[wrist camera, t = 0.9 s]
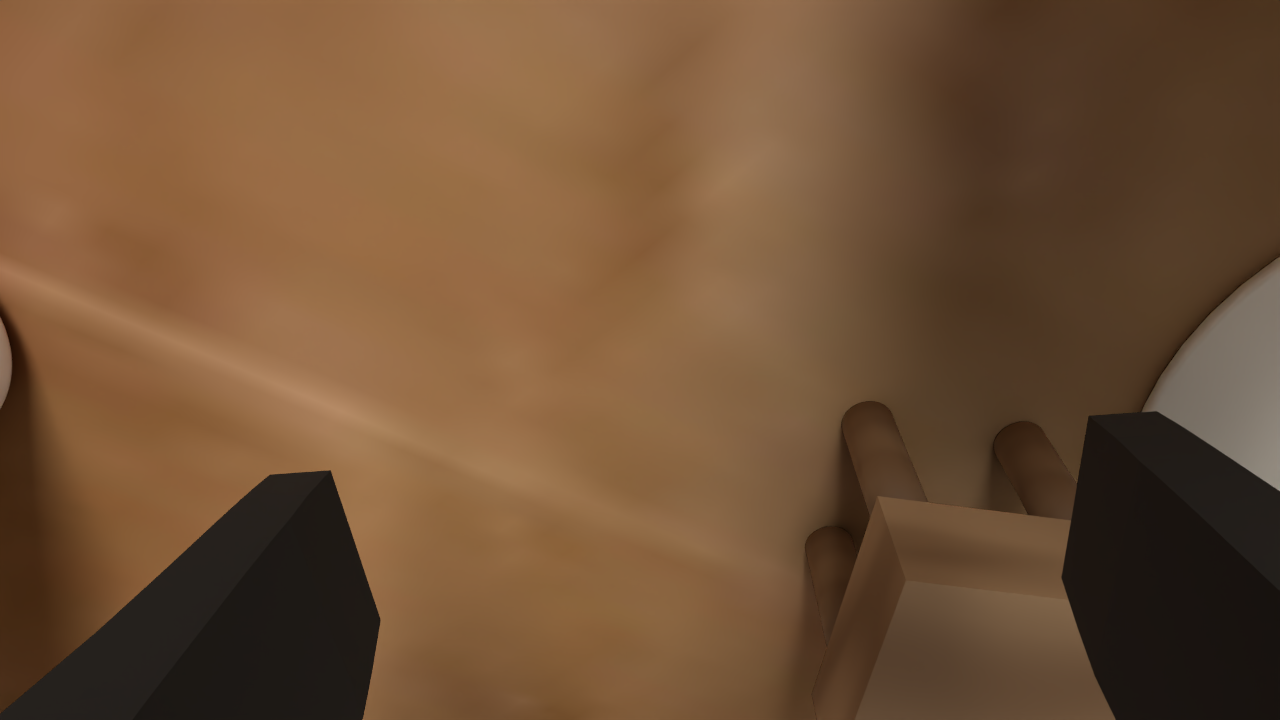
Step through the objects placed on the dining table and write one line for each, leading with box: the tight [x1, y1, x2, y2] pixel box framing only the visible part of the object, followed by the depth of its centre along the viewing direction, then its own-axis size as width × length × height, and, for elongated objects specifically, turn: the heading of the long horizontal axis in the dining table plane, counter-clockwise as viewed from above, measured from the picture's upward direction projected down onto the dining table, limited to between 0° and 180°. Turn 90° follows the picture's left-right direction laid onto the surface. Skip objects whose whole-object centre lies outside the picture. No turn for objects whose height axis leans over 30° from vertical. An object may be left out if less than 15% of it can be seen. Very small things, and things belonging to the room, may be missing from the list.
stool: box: [805, 401, 1116, 720], centre depth 20 cm, size 5×5×6 cm
